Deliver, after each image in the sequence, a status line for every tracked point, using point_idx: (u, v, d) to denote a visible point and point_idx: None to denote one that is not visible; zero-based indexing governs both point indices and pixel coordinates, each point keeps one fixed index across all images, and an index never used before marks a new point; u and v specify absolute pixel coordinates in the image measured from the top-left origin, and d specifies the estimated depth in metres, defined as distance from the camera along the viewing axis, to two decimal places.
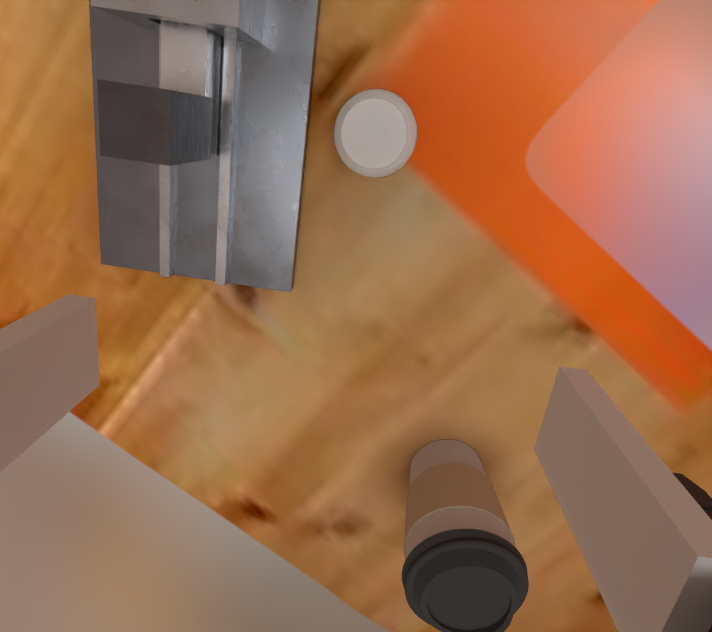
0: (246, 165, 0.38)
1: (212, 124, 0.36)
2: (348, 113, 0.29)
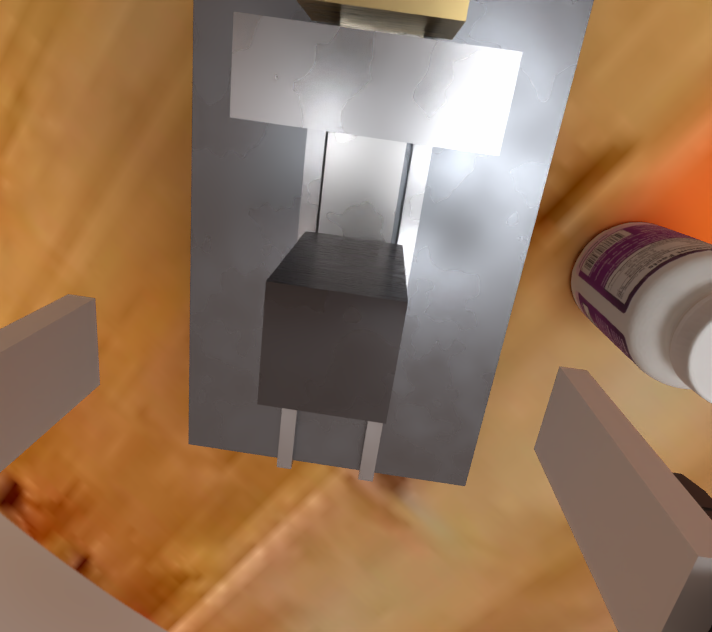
0: (420, 320, 0.25)
1: None
2: None
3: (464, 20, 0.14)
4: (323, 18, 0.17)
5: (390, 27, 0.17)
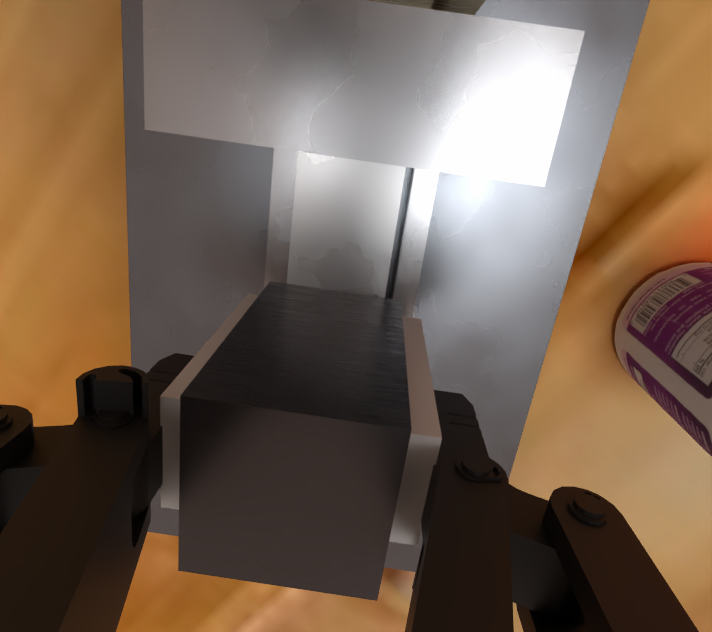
0: None
1: None
2: None
3: None
4: None
5: (383, 0, 0.12)
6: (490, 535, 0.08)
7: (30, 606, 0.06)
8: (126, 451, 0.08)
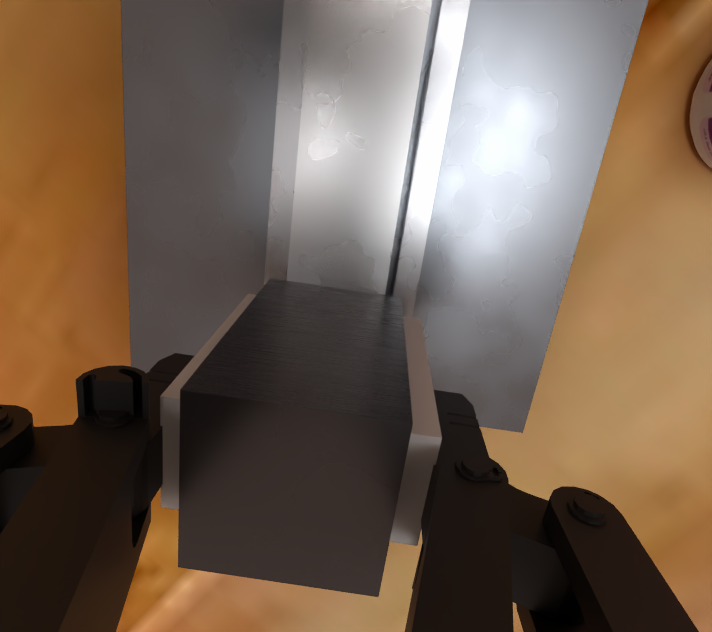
0: (466, 172, 0.17)
1: None
2: None
3: None
4: None
5: None
6: (490, 535, 0.08)
7: (31, 605, 0.06)
8: (126, 451, 0.08)
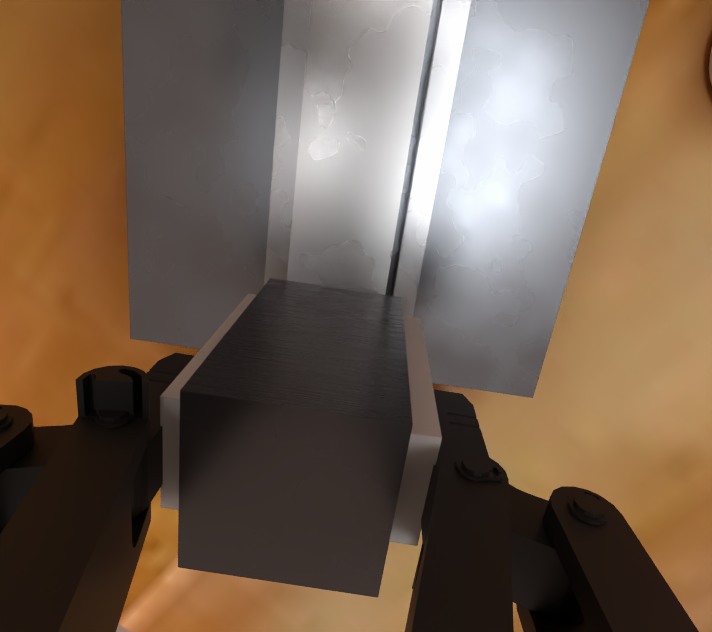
0: (477, 121, 0.16)
1: None
2: None
3: None
4: None
5: None
6: (490, 535, 0.08)
7: (31, 605, 0.06)
8: (126, 451, 0.08)
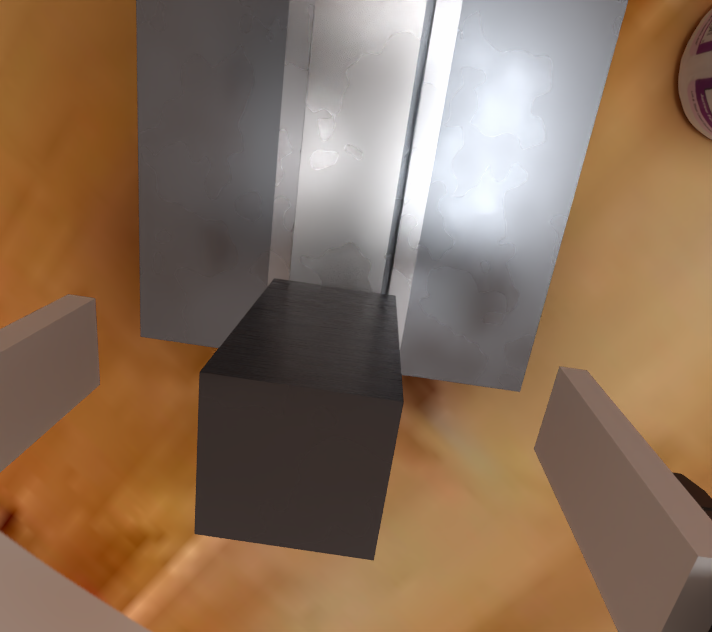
0: (465, 133, 0.18)
1: None
2: None
3: None
4: None
5: None
6: None
7: None
8: None
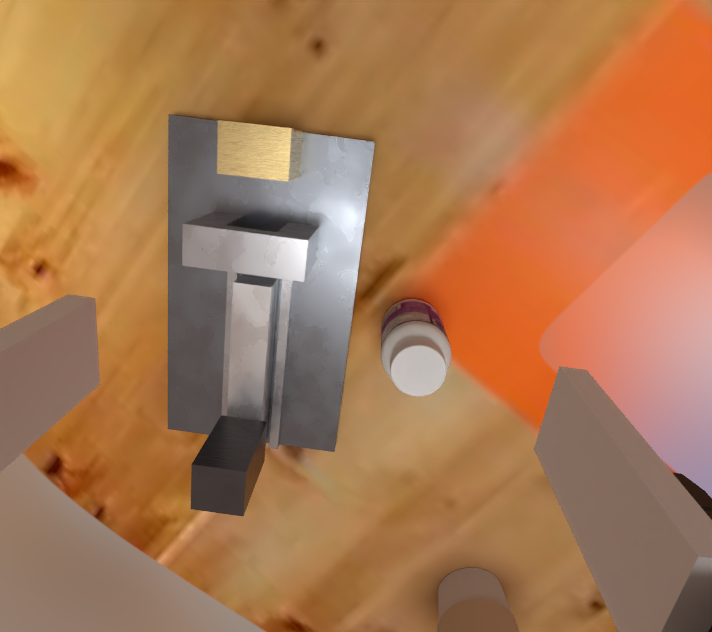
0: (298, 353, 0.44)
1: None
2: (397, 356, 0.35)
3: (291, 128, 0.34)
4: (224, 163, 0.35)
5: (257, 165, 0.34)
6: None
7: None
8: None
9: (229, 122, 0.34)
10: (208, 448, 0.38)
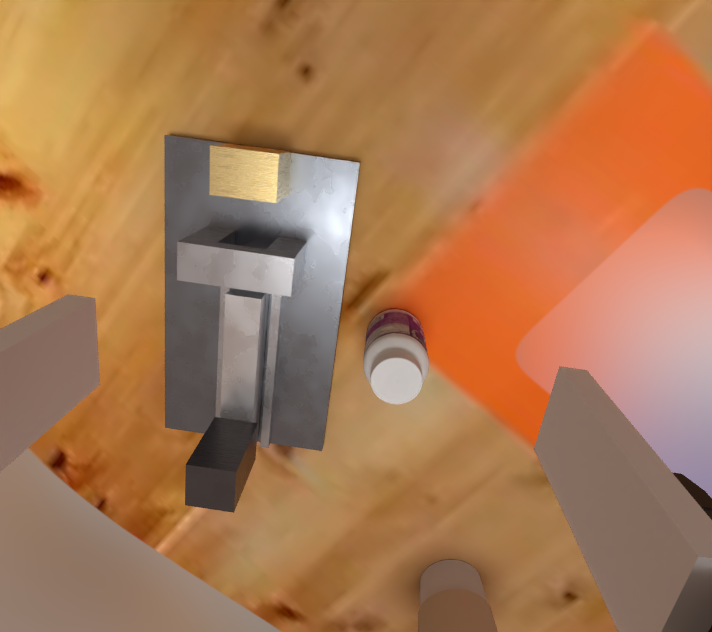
0: (288, 358, 0.47)
1: None
2: (376, 367, 0.37)
3: (278, 154, 0.36)
4: (216, 185, 0.37)
5: (247, 188, 0.37)
6: None
7: None
8: None
9: (220, 147, 0.36)
10: (201, 449, 0.41)
